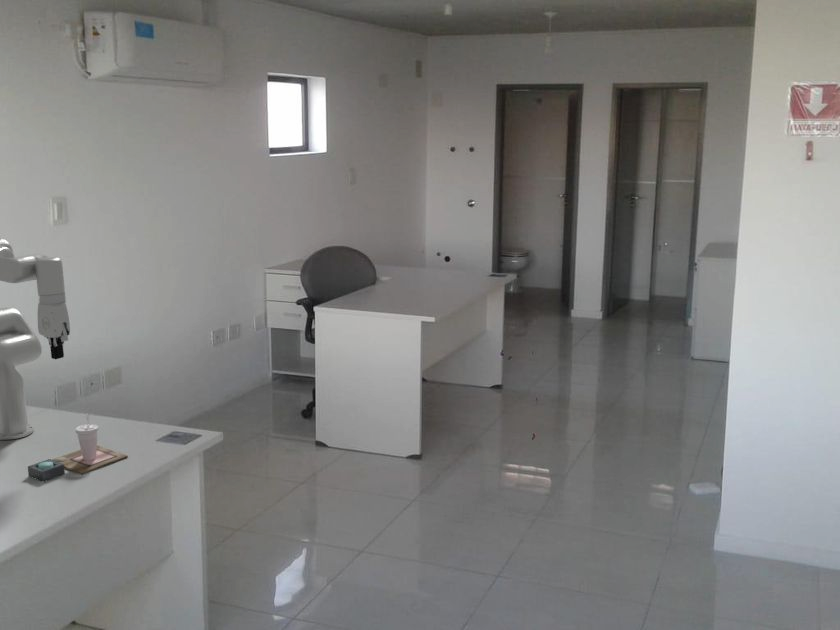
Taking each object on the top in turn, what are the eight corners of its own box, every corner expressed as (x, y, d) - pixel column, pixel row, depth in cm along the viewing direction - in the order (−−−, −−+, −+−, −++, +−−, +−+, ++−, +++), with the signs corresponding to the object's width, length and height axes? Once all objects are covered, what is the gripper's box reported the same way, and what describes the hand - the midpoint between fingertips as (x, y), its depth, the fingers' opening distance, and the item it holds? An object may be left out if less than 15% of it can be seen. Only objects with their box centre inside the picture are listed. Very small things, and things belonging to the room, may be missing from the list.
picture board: (49, 462, 278) (48, 460, 278) (95, 446, 290) (94, 444, 290) (81, 474, 269) (81, 472, 268) (127, 457, 281) (127, 455, 281)
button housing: (28, 476, 268) (27, 466, 267) (50, 468, 273) (49, 458, 272) (42, 481, 264) (41, 471, 263) (64, 473, 269) (63, 464, 269)
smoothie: (93, 463, 275) (89, 418, 272) (74, 461, 277) (69, 416, 273) (105, 455, 281) (101, 410, 278) (85, 453, 283) (81, 409, 280)
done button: (36, 474, 268) (35, 465, 267) (48, 470, 271) (47, 460, 270) (44, 477, 266) (43, 468, 265) (57, 473, 269) (56, 463, 268)
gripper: (26, 298, 280) (32, 357, 284) (55, 304, 271) (61, 364, 275) (48, 293, 286) (54, 351, 290) (78, 299, 277) (83, 359, 281)
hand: (57, 357), depth 282 cm, fingers closed
